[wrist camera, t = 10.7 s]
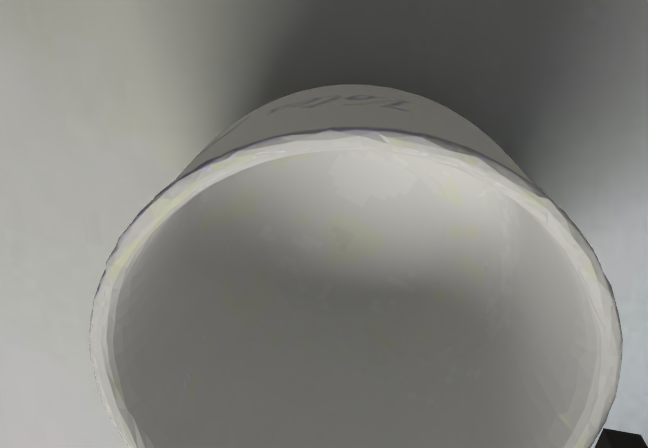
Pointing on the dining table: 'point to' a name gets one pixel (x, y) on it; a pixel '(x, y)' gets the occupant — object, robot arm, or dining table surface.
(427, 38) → the dining table surface
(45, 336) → the dining table surface
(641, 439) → the robot arm
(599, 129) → the dining table surface
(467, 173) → the teacup
